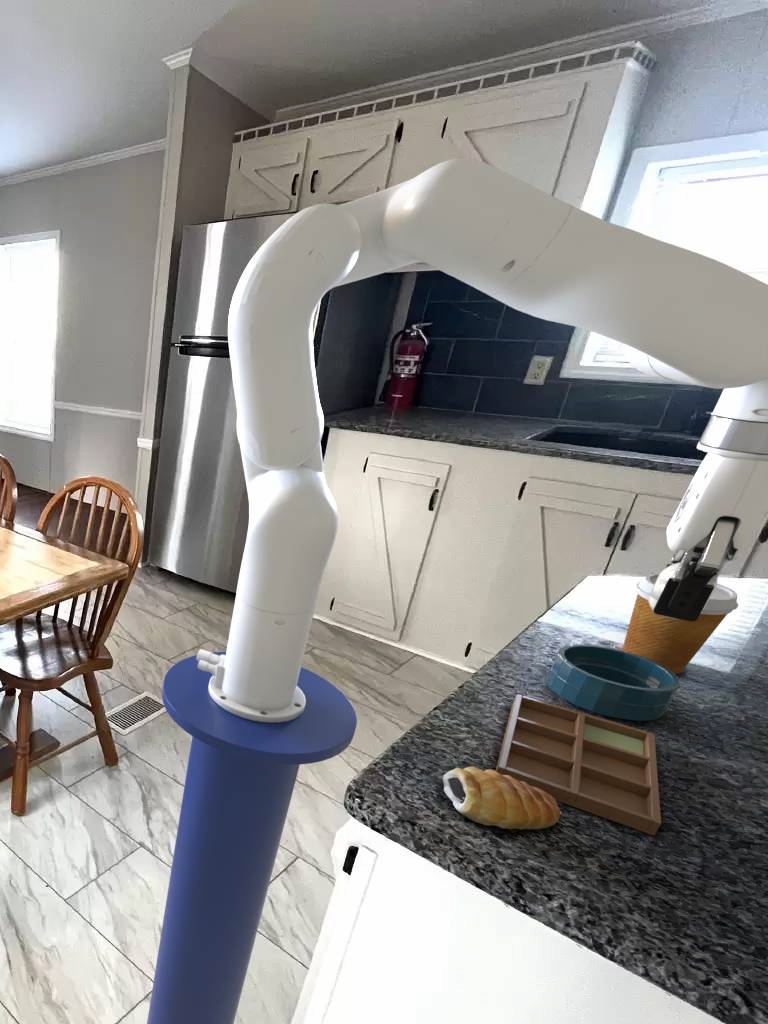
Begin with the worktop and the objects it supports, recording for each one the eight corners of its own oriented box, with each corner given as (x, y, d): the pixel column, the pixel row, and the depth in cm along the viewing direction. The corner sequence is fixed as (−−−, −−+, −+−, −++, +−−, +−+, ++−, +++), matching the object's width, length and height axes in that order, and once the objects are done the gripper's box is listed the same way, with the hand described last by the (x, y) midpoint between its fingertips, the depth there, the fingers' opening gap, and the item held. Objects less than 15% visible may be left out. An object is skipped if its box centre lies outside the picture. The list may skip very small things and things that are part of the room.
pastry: (534, 794, 67) (547, 766, 66) (571, 843, 61) (587, 813, 60) (434, 781, 69) (444, 754, 68) (461, 827, 64) (473, 798, 62)
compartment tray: (493, 778, 70) (498, 766, 69) (512, 703, 82) (516, 693, 81) (654, 835, 62) (661, 823, 61) (648, 744, 74) (654, 733, 73)
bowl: (541, 701, 82) (555, 668, 80) (547, 666, 90) (561, 635, 87) (663, 736, 75) (682, 701, 73) (659, 695, 83) (676, 663, 80)
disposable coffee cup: (694, 659, 90) (735, 583, 85) (704, 688, 84) (749, 608, 78) (603, 639, 96) (637, 566, 91) (606, 665, 89) (643, 588, 84)
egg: (641, 618, 69) (668, 564, 66) (641, 605, 71) (667, 552, 69) (697, 630, 66) (727, 574, 63) (695, 616, 69) (724, 561, 66)
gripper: (697, 421, 68) (625, 576, 76) (709, 448, 57) (623, 625, 65) (806, 428, 63) (717, 593, 71) (841, 459, 53) (731, 649, 60)
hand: (673, 607), depth 68 cm, fingers closed on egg, 4 cm apart
